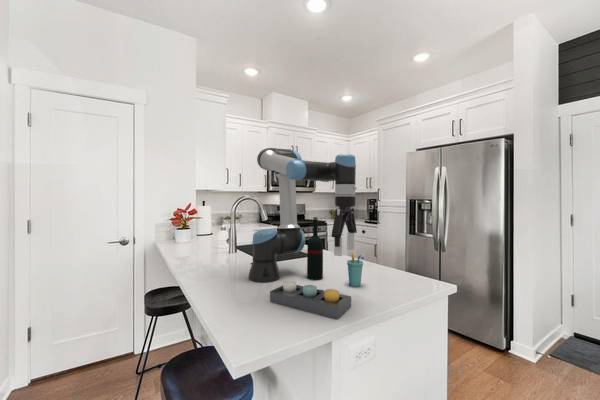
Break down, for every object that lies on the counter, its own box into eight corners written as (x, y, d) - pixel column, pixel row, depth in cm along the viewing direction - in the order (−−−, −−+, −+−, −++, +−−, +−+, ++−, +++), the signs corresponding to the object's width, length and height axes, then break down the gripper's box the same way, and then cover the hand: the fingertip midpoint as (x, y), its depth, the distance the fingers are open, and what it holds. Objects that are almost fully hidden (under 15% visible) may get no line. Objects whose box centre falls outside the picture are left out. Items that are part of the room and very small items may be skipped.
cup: (370, 290, 120) (371, 255, 120) (354, 291, 119) (354, 256, 118) (356, 280, 134) (357, 249, 134) (341, 281, 132) (341, 250, 132)
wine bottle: (316, 273, 145) (317, 216, 144) (325, 279, 135) (326, 217, 135) (302, 275, 142) (303, 216, 141) (310, 281, 132) (311, 218, 132)
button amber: (321, 302, 99) (321, 292, 99) (328, 297, 103) (328, 288, 103) (335, 305, 96) (335, 295, 96) (341, 300, 100) (341, 290, 100)
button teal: (300, 297, 103) (300, 287, 103) (307, 293, 108) (307, 284, 108) (312, 300, 101) (312, 290, 101) (319, 295, 105) (319, 286, 105)
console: (269, 301, 106) (270, 291, 106) (287, 292, 117) (287, 283, 117) (337, 319, 92) (337, 307, 92) (350, 307, 102) (351, 296, 102)
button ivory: (280, 292, 108) (280, 283, 108) (287, 288, 113) (287, 280, 112) (291, 295, 105) (291, 286, 105) (298, 291, 110) (298, 282, 110)
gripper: (342, 195, 92) (342, 260, 92) (364, 196, 114) (364, 247, 114) (322, 195, 96) (321, 257, 96) (346, 196, 118) (346, 246, 118)
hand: (344, 252), depth 105 cm, fingers open, 13 cm apart
